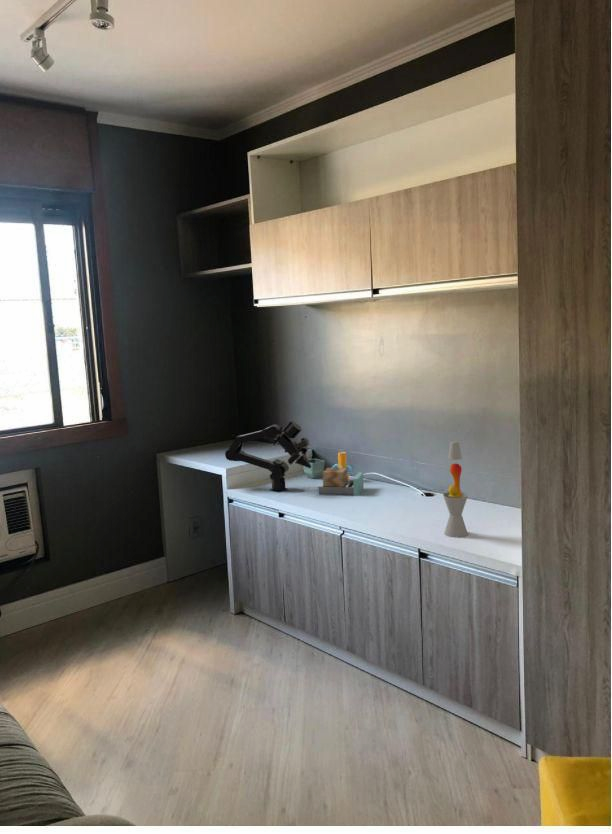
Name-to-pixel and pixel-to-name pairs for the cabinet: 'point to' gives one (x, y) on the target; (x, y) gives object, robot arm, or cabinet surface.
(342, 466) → the orange post with rings
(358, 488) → the stop bar
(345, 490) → the roller bed
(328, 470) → the brown wooden block
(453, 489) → the lava lamp
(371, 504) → the cabinet surface
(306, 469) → the flower pot
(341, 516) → the cabinet surface
